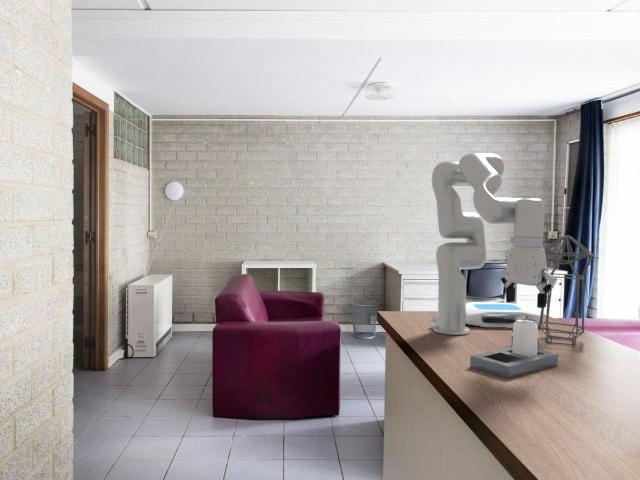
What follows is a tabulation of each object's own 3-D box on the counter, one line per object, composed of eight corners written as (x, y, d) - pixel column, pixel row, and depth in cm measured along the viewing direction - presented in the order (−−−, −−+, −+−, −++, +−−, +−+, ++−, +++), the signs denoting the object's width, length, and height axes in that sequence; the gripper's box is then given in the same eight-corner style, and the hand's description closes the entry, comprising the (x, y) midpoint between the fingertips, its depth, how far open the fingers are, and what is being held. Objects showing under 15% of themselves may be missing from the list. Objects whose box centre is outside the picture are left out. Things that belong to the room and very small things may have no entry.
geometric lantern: (536, 334, 178) (541, 234, 177) (586, 340, 172) (592, 236, 170) (534, 343, 164) (540, 234, 162) (589, 350, 157) (596, 237, 156)
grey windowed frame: (470, 366, 138) (470, 355, 138) (519, 354, 151) (519, 344, 151) (508, 378, 129) (508, 366, 128) (557, 364, 141) (558, 353, 141)
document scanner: (543, 328, 188) (544, 312, 187) (467, 328, 188) (467, 311, 188) (522, 317, 209) (522, 302, 208) (453, 316, 209) (453, 301, 209)
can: (508, 359, 146) (509, 318, 145) (529, 359, 146) (530, 317, 146) (518, 366, 139) (519, 322, 139) (541, 365, 140) (542, 322, 139)
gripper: (493, 241, 146) (490, 300, 147) (549, 246, 132) (546, 311, 133) (509, 240, 150) (507, 298, 152) (565, 245, 136) (562, 308, 137)
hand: (525, 304), depth 142 cm, fingers open, 9 cm apart
